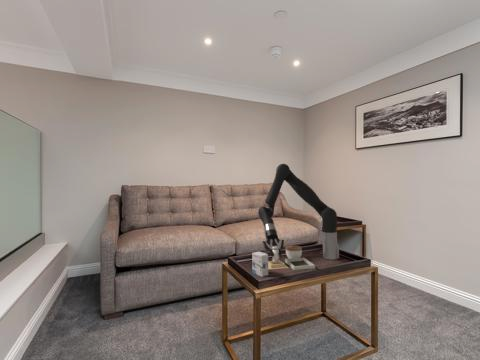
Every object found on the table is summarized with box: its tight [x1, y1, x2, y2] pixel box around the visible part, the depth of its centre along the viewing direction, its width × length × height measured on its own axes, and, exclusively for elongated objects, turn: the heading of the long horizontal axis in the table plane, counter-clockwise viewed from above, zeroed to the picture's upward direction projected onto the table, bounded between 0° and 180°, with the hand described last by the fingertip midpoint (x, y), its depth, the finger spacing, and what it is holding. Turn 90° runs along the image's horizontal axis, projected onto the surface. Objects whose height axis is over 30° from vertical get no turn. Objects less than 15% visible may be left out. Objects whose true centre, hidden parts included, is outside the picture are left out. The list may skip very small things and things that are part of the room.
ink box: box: [251, 251, 269, 278], centre depth 137 cm, size 9×5×12 cm, turn 35°
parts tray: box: [284, 257, 316, 271], centre depth 150 cm, size 13×17×2 cm
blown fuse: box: [271, 246, 280, 263], centre depth 150 cm, size 4×4×9 cm
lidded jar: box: [285, 244, 303, 259], centre depth 165 cm, size 11×11×9 cm
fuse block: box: [268, 260, 289, 270], centre depth 150 cm, size 12×12×2 cm
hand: (276, 255), depth 148 cm, fingers closed on blown fuse, 4 cm apart
